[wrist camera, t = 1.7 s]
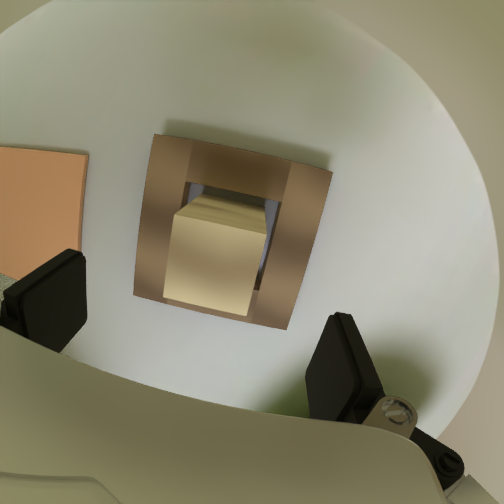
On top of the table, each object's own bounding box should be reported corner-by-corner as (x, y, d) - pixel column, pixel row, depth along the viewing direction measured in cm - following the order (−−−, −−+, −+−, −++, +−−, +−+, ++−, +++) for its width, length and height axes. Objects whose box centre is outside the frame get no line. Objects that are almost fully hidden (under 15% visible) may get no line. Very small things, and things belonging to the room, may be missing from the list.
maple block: (250, 266, 25) (246, 316, 18) (190, 253, 25) (163, 297, 17) (264, 207, 24) (266, 234, 16) (201, 193, 23) (174, 214, 16)
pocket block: (284, 317, 27) (286, 330, 25) (141, 285, 26) (133, 295, 24) (327, 170, 23) (333, 172, 21) (162, 135, 22) (154, 133, 20)
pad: (81, 300, 27) (78, 302, 26) (-8, 266, 26) (-11, 268, 26) (88, 155, 22) (85, 155, 22) (-8, 146, 22) (-12, 146, 21)
